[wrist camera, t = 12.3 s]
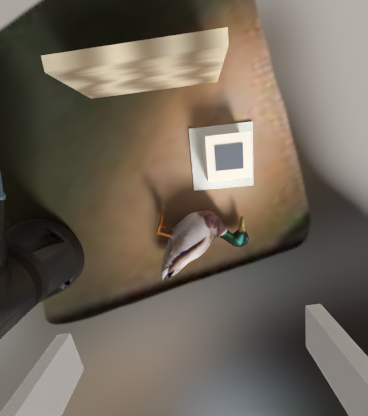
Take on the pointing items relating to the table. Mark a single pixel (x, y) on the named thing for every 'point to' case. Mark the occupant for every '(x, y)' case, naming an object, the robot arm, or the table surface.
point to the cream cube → (228, 156)
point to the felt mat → (198, 155)
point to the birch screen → (142, 64)
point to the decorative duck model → (195, 239)
